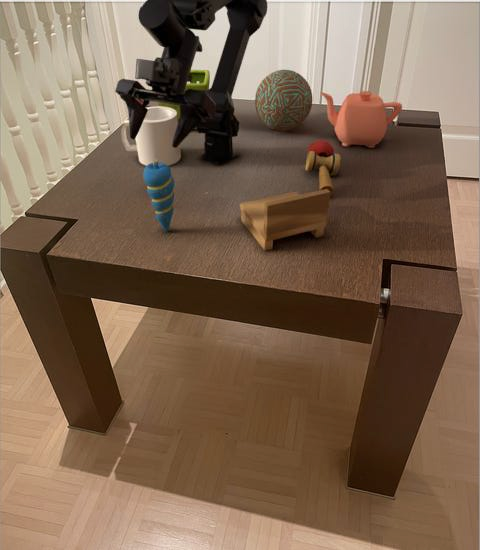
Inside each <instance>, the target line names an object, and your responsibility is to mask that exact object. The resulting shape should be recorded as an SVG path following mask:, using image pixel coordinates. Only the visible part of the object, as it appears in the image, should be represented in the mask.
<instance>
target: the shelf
mask: <svg viewBox="0 0 480 550" xmlns="http://www.w3.org/2000/svg"><path fill="white" fill-rule="evenodd" d="M330 198H331V196H330V191H329V190H328V189H324V190H320V191H319V190H316V191H311V192H306V193H303V194H299V193H298V192H297V191H291V192H287V193H282V194H277V195H276V194H275V195H272V196H267V197H263V198H258V199H254V200H249V201H244V202H240V203H239V209H240V217H241V218H240V221H241V222H242V223H243V224H244V225H245V227H246V228H247V229H248V231H249V232H250V234H251V235H252V237H254V239H255V240H256V242H257V243H258V244H259V246H261V248H262V249H263V251H266V252H267V251H269V250H273V246H274V245H273V244H274V241H275V240H279V239H282V238H287V237H290V236H295V235H299V234H302V233H307V232H310V234H311V235H312V236H313V237H314V238H320V237H323V236H324V231H325V228H326V227H327V220H328V213H329V206H330Z"/></svg>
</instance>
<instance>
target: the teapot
mask: <svg viewBox="0 0 480 550" xmlns="http://www.w3.org/2000/svg"><path fill="white" fill-rule="evenodd" d="M320 94H321V95H322V96H323V98H324V99H325V101H326V105H327V106H326V107H327V119H328V121H329V123H330V124H331V125H332V126H334V133H335V135H336V137H337V139H338V140H339V142H341V145H342V146H344V147H351V146H352V145H355V146H356V145H357V146H365V147H366V148H369V149H373V148H375V147H376V145H378V144H379V143H380V142H382V140H383V138H384V137H385V135H386V132H387V126H389V124H391V123H392V122H393V121H394V120H395V119H396V118H397V117H398V116H399V115H400V113H401V112H402V109H403V104H402V103H401V102H397V101H392V102H384V100H383V98H382V97H381V96H380V95H378V94H374V93H372V92H371V91H368V90H362V91H359V93H358V92H357V93H354V92H353V93H349V94H348V95H347V96H346V97H345V98H344V100H343V102H342V104H341V105H340V107H339V109H338V112H337V111H336V110H335V107H334V99H333V97H332V95H331V94H329V93H325V92H320ZM386 108H393V110H392V112H391V114H390V115H389V116H388V118H387V112H386Z"/></svg>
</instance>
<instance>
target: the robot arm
mask: <svg viewBox="0 0 480 550" xmlns="http://www.w3.org/2000/svg"><path fill="white" fill-rule="evenodd" d="M223 8H225V9H226V16H227V20H228V24H229V29H228V32H227V35H226V39H225V41H224V45H223V48H222V51H221V54H220V58H219V61H218V64H217V68H216V71H215V74H214V78H213V81H212V84H211V87H209V90H208V91H206V90H202V91H201V90H194V89H188V90H186V91H185V88H186V84H187V83H188V82H187V81H192V78H193V76H192V75H191V74H190V71H191V70H192V67H193V64H194V60H195V57H196V54H197V53H202V52H203V45H202V43H201V41H200V37H199V35H196V34H195V32H194V31H192V30H195V31H203V32H204V31H205V32H206V31H207V30H208V29H210V27H211V26H212V25H213V24H214V22H215V21H216V13H217V12H219V11H220V10H222V9H223ZM267 13H268V0H145V2H144V3H143V4H142V6H140V7H139V10H138V21H139V23H140V25H141V26H142V27H143V28H144V29H145V31H146V32H147V33H148V34H149V36H151V37H152V39H153V40H154V41H155V42H156V43H157V45H159V46H160V47H161V48H163V50H162V52H161V56H160V57H156V58H154V60H150V59H143V58H136V60H135V61H136V63H135V75H134V79H135V80H133V79H126V78H121V79H120V80H118V81H117V83H116V87H115V90H114V92H115V93H116V94H117V95H118V96H119V98H120V99H121V100H123V101H124V103H125V105H126V109H127V114H128V120H129V126H128V127H129V128H128V129H129V138H130V139H131V140H136V136H137V134H138V132H139V130H140V128H141V125H142V123H143V121H144V118H145V116H146V114H147V112H148V109H147V108H146V107H148V105H150V102H155V103H158V102H160V103H166V104H172V105H178V106H180V118H179V121H178V125H177V128H176V131H175V134H174V137H173V142H172V146H173V147H174V148H177V147H178V145H179V144H180V145H181V144H182V142H183V141H184V140H185V139H186V138H187V137H188V136H189V135H190V133H192V132H193V131H194V130H197V133H198V134H203V135H204V143H203V145H204V154H201V157H200V158H202V159H204V160H207V161H210V162H211V163H213V164H217V165H223V164H225V163H228V162H229V161H231V160H233V159H235V158H237V157H238V156H239V155H238V153H236V152H234V150H233V149H234V148H233V147H234V146H233V138H235V137H238V136H239V132H240V121H239V120H238V118H237V117H236V115H235V109H236V108H235V105H234V101H233V93H234V89H235V86H236V83H237V80H238V77H239V74H240V70H241V66H242V64H243V61H244V57H245V54H246V50H247V47H248V44H249V40H250V38H251V37H252V36H253V35H254V34H255V33H256V32H257V31H258V30H259V29H260V28H261V26H262V23H263V22H264V18H265V17H266V15H267ZM138 80H145V85H147V86H148V87H150V88H151V89H148V88H146V87H145V86H143V85H142V83H141V82H139V81H138ZM184 91H185V93H184ZM158 96H159V97H158ZM196 127H197V129H195V128H196Z"/></svg>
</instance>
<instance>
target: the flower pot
mask: <svg viewBox="0 0 480 550" xmlns="http://www.w3.org/2000/svg"><path fill="white" fill-rule="evenodd" d="M210 73H211V72H210V70H209V69H191V71H190V74H191V75H192V76H193V78H192V81H187V84H186V88H185V91H186V90H188V89H194V90H201V91H202V90H206V91H208V90H209V89H210V84H211V83H210V81H211V74H210ZM185 91H184V93H185ZM158 97H159V96H158ZM157 106H162V107H169V108H172V109H174V110H175V111H176V112H177V121H179V118H180V106H178V105H172V104H166V103H160V102H157ZM194 130H197V127H196V128H195V129H194Z"/></svg>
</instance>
